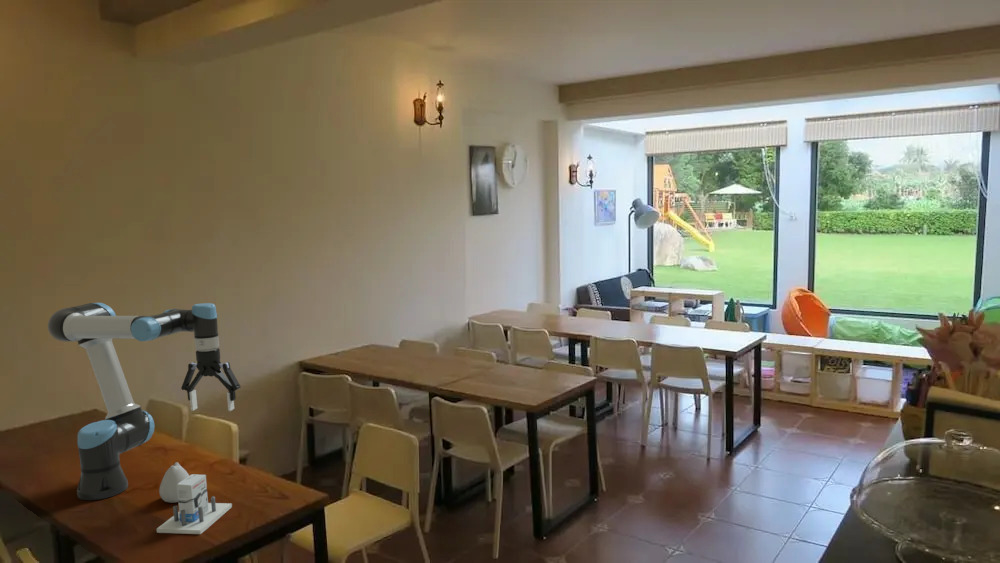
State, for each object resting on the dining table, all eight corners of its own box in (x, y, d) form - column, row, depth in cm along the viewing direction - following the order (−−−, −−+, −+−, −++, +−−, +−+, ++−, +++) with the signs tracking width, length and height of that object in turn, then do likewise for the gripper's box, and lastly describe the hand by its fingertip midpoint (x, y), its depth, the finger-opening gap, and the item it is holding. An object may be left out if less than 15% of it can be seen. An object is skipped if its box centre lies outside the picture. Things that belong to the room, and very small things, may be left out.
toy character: (169, 492, 235) (166, 458, 234) (200, 491, 235) (197, 457, 234) (153, 505, 225) (150, 470, 224) (185, 505, 225) (182, 469, 223)
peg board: (156, 532, 206) (155, 514, 206) (191, 505, 224) (189, 489, 223) (200, 534, 204) (199, 515, 204) (231, 507, 222) (230, 490, 221)
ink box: (194, 522, 210) (190, 485, 208) (179, 521, 210) (175, 484, 209) (209, 509, 218) (206, 474, 216) (195, 509, 219) (192, 473, 217)
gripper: (166, 351, 233) (172, 412, 235) (236, 351, 230) (241, 413, 232) (179, 346, 240) (185, 406, 243) (247, 346, 237) (252, 406, 240)
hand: (212, 409), depth 238 cm, fingers open, 13 cm apart
